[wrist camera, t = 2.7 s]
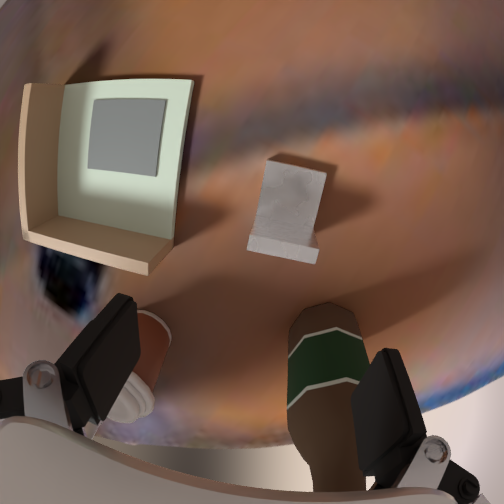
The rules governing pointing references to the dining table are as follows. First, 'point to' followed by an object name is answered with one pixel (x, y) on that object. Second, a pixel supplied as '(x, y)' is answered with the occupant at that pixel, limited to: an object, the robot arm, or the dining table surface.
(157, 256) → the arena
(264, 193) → the bracket
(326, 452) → the beer bottle
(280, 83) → the dining table surface
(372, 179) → the dining table surface
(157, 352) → the coffee cup
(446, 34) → the dining table surface
